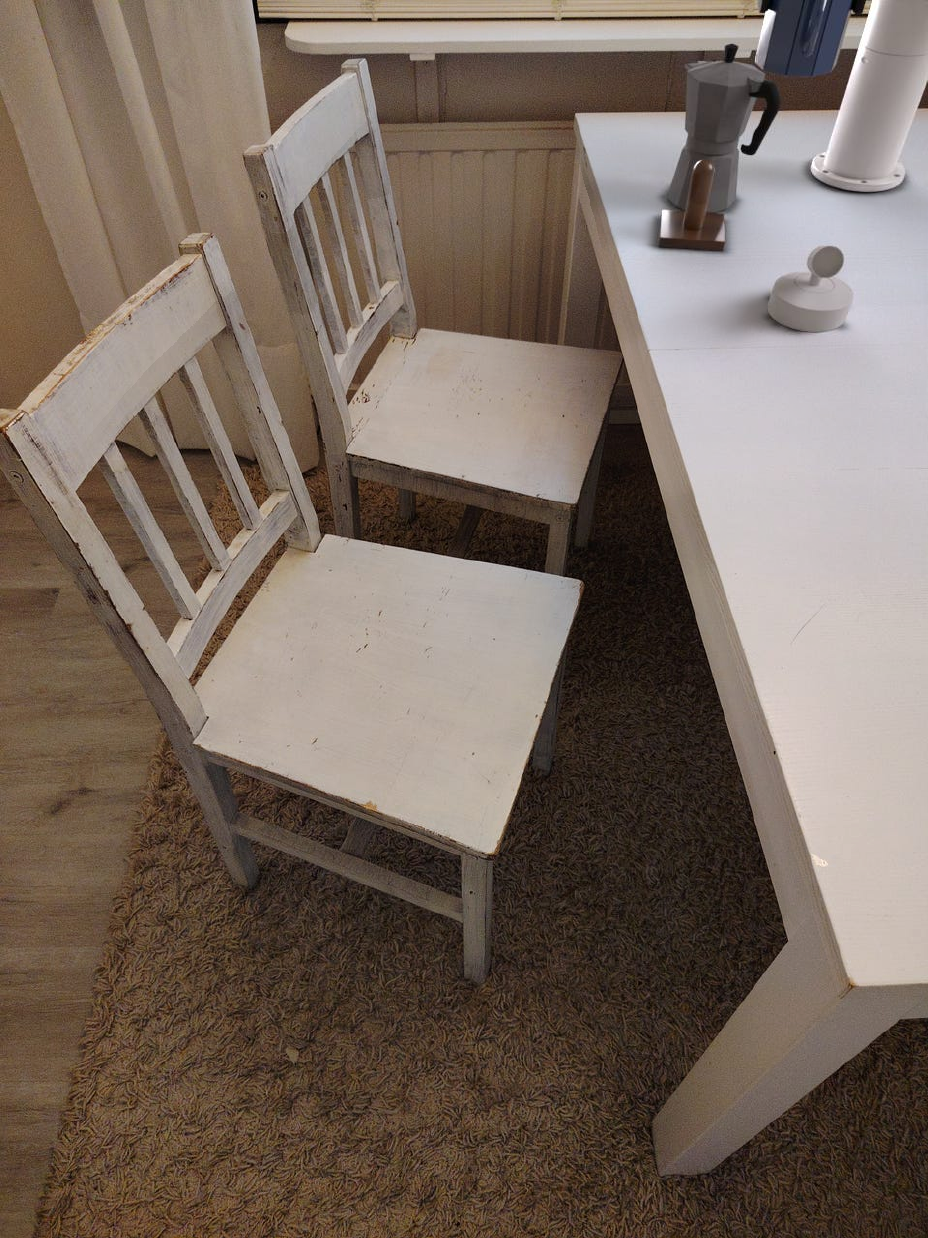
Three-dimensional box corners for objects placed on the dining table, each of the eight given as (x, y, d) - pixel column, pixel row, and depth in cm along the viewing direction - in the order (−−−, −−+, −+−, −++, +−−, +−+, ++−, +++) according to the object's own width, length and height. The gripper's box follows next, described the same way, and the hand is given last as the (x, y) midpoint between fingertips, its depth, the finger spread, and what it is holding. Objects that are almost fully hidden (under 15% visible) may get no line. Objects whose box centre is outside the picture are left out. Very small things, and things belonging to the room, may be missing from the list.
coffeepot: (642, 192, 111) (665, 38, 98) (689, 174, 115) (718, 23, 101) (725, 232, 103) (763, 70, 89) (773, 211, 107) (817, 53, 93)
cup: (752, 49, 79) (778, -69, 72) (831, 51, 78) (865, -69, 71) (757, 82, 73) (786, -43, 66) (842, 84, 72) (880, -42, 65)
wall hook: (788, 245, 81) (795, 204, 87) (762, 331, 88) (771, 287, 94) (877, 257, 79) (878, 214, 85) (843, 343, 86) (847, 298, 92)
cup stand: (660, 218, 106) (673, 145, 99) (722, 222, 105) (738, 148, 98) (658, 246, 101) (671, 171, 94) (723, 250, 100) (740, 175, 93)
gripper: (995, -289, 60) (901, -2, 74) (758, -282, 62) (710, -4, 76) (1020, -281, 55) (916, 23, 69) (763, -274, 58) (711, 20, 71)
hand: (808, 7), depth 73 cm, fingers closed on cup, 7 cm apart
